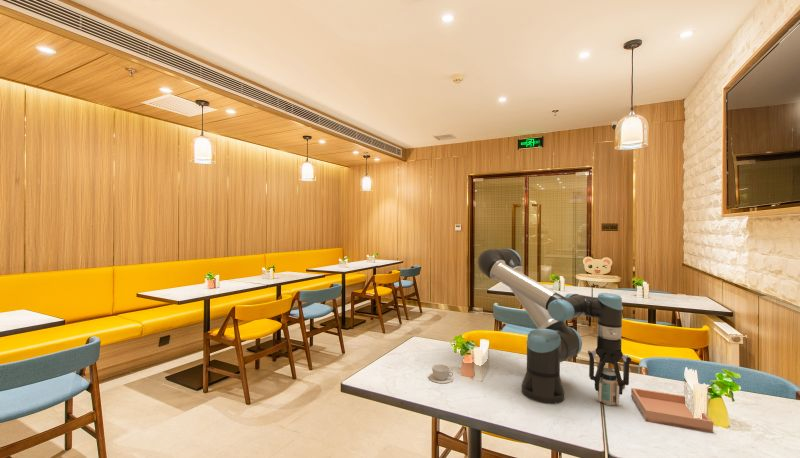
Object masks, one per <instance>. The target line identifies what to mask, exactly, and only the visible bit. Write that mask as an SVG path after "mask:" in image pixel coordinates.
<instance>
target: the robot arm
mask: <svg viewBox="0 0 800 458" xmlns="http://www.w3.org/2000/svg"><path fill="white" fill-rule="evenodd" d="M476 263H477V268H478V269H479V271H480V272H481V273H482V274H483V275H484V276H486V277H487V278H489V279H491V280H492V281H499V282H500V283H502V284H503V285H504V286H507V287H508V288H509V289H510V290H511V291H512V293H513V294H514V296H515V297H516V299H517V300H518V301H519V304H521V306H522V308H523V309H524V310H525V312H526V313H527V315H528V316H529V318H530V319H531V321H532V322H533V323H534V325H535V326H536V327H537V328H535V329H532V330H531V331H529V332H528V334H527V340H526V372H525V374H524V377H523V380H522V383H521V394H523V395H524V396H525V397H526V398H527V399H529V400H532V401H535V402H537V403H543V404H550V405H551V404H552V405H553V404H560V403H563V402H564V400H566V399H565V396H566V395H565V394H566V392H565V388H564V386H563V383H562V378H561V363H562V362H565V361H567V360H569V359H570V360H571V359H573V358H575V357H576V356H578V355H579V354H580V352H581V351H582V347H583V340H582V337H581V335H580V333H579V332H578V331H577V330H576V329H574V328H573V327H570V326H568V325H567V324H566V323H565V322H566V321H570V320H572V319H575V318H579V317H582V316H585V317H589V318H596V319H597V337H596V342H597V343H596V349H595V350H592V351H591V350H588V351H587V354H588V357H589V358H588V359H589V360H588V361H589V365H588V366H589V367H588V377H589V379H590V381H594V390H595V391H596V392H597V401H598V402H601V393H602V383H601V375H602V372H603V368H605V365H606V364H611V365H612V366H613V370H614V371H615V372H616V378H617V382H618V383H616V404H615V405H618V406H619V405H620V395H621V396H622V395H623V389H624V388H623V385H625V386H629V385H630V363H631V361H632V358H631V357H630V355H626V354H624V353H623V352H622V343H623V341H622V339H621V338H622V333H623V332H622V331H623V330H622V325H623V324H622V323H623V322H622V321H623V300H622V297H621V295H619V294H616V293H608V292H599V293H598V294H597V297H596V296H591V295H589V296H588V295H582V294H578V293H567V294H566V295H565V296H563V294H560V293H558V292H556V291H555V290H552V289H551V288H549V287H547V286H546V285H544V284H541V283H540V282H538V281H537V280H534V279H532V278H531V277H529V276H527V275H526V274H524V272H523V270H524V267H523V264H522V258H521V256H520V254H519V253H518V252H517V251H516V250H514V249H511V248H505V247H504V248H490V249H489V248H487V249H485V250H483V251H482V252H481V253H479V255H478V258H477V262H476ZM596 355H597V356H598V358H599V362H598V366H597V368H596V372H595V358H596ZM621 359H622V361H623V371H622V372H623V373H622V374H623V375H621V372H620V368H619V363H618V362H619V361H620V360H621ZM622 378H623V379H622ZM622 388H623V389H622ZM601 403H602V402H601Z"/></svg>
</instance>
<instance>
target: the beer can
mask: <svg viewBox="0 0 800 458" xmlns="http://www.w3.org/2000/svg"><path fill="white" fill-rule="evenodd" d="M600 381H601V383H602V393H601V403H603V404H604V405H606V406H609V407H610V406H611V407H613V406H615V405H617V404H616V372H615V370H614V368H609V367H604V368H603V372H602V375H601V378H600Z"/></svg>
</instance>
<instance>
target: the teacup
mask: <svg viewBox="0 0 800 458" xmlns="http://www.w3.org/2000/svg"><path fill="white" fill-rule="evenodd" d="M431 369H432V373H431V374H429V376H428V378H429V380H430V381H432V382H435V383H438V384H446V383H450V382H453V380H454V377H453V376H454V372H453V371H452V370H451V367H450V366H449V365H447V364H443V363H437V364H433V365H432V366H431ZM450 373H451V374H450Z"/></svg>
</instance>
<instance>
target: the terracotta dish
mask: <svg viewBox="0 0 800 458" xmlns="http://www.w3.org/2000/svg"><path fill="white" fill-rule="evenodd" d="M630 390H631V391H630V393H631V394H630V395H631V396H630V398H631V397H632V398H631V399H632V401H633V402H635V403H634V404H635V406H636V407H637V410H638V411H639V412H640V414H641V415H642V418H643V419H644V421H645V422H648V423H649V422H650V423H655V424H660V425H665V426H672V427H675V428H683V429H688V430H693V431H699V432H703V433H704V432H705V433H711V434H713V433H714V421H713V420H712V419H711V418H710V417H709V416H708V414H706V413H705V412H704V413H702V419H700V418H694V417H693V415H692V413H691V412H690V411H689V409H688V408H687V407H686V405H685V396H686V395H680V394H674V393H667V392H661V391H655V390H648V389H641V388H635V387H631V389H630Z"/></svg>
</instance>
